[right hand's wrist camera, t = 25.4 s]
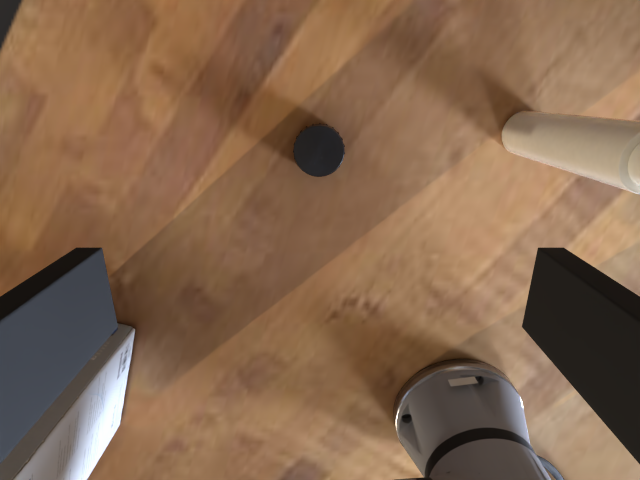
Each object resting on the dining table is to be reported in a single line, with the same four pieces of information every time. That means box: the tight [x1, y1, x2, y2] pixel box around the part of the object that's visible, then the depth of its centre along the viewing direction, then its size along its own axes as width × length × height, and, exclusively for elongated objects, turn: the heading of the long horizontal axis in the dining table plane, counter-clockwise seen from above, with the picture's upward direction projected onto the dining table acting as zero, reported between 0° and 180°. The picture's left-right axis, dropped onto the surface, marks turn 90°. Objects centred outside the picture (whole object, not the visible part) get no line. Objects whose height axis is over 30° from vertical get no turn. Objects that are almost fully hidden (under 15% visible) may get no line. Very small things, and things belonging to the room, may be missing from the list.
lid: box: [293, 123, 345, 177], centre depth 38 cm, size 5×5×2 cm
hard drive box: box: [0, 323, 135, 480], centre depth 39 cm, size 16×8×20 cm, turn 164°
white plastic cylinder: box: [502, 111, 640, 194], centre depth 30 cm, size 4×4×18 cm
